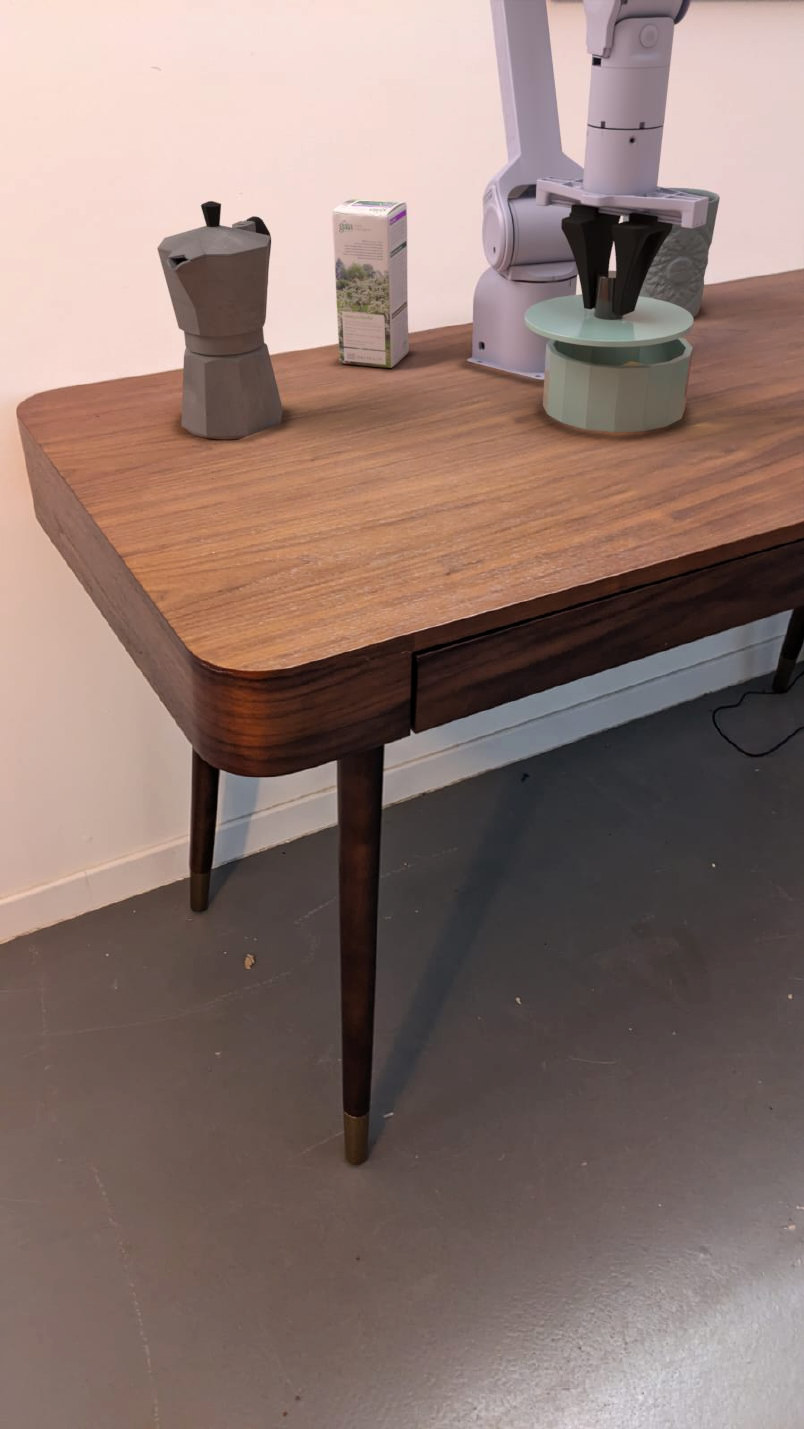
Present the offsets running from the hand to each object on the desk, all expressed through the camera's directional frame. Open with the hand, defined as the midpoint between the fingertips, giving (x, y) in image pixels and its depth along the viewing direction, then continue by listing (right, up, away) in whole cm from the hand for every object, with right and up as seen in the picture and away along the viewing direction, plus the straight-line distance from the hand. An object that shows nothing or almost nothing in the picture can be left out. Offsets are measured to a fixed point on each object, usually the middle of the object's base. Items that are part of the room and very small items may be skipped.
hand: (608, 309), depth 93 cm
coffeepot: (-32, -7, +8) cm, 33 cm away
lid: (0, -1, +1) cm, 1 cm away
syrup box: (-20, +2, +21) cm, 29 cm away
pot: (+2, -7, +7) cm, 10 cm away
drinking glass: (+12, +12, +34) cm, 38 cm away
